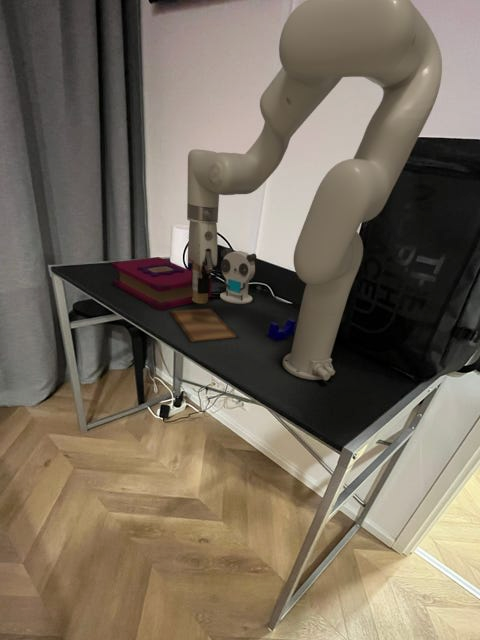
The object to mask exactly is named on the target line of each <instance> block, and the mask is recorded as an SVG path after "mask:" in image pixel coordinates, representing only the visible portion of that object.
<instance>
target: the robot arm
mask: <svg viewBox="0 0 480 640" xmlns="http://www.w3.org/2000/svg"><path fill="white" fill-rule="evenodd" d="M278 56H279V60H280V64H281V68H280V70H279V71H278V72H277V74H276V75H275V76H274V78H273V79H272V80H271V82H270V83H269V84H268V85H267V87H266V88H265V90H264V91H263V93H262V94H261V96H260V98H259V109H260V113H261V116H262V118H263V121H264V124H263V128H262V130H261V131H260V134H259V136H258V137H257V139H256V140H255V141H254V143H253V144H252V145H251V146H250V148H249V149H248V150H247V151H246V152H245V153H238V152H223V151H221V152H217V151H213V150H207V149H196V148H194V149H191V150H190V151H189V152H188V155H187V189H186V191H187V195H186V197H187V198H186V199H187V200H186V201H187V203H186V220H188V221H189V225H188V243H187V251H188V250H189V257H190V258H191V259H192V261H191V262H192V268H191V269H192V271H193V260H194V262H195V263H196V264H197V265H198V266H199V278H198V293H199V294H205V293H209V288H210V280H211V275H212V272H213V271H214V267H217V265H218V222H219V206H220V205H219V204H220V196H235V195H249V194H252V193H253V192H256V191H257V190H259V188H260V187H261V186H262V185H263V184H264V183H265V182H266V181H267V180H268V179H269V178H270V176H272V175H273V174H274V173H275V171H276V170H277V169H278V167H279V166H280V164H281V162H282V161H283V159H284V157H285V154H286V153H287V150H288V147H289V144H290V140H291V139H292V137H293V136H294V134H295V133H297V131H298V129H300V128H301V127H302V125H303V124H304V123H305V121H307V119H308V118H309V117H310V116H311V115H312V114H313V112H314V111H315V110H316V109H317V108H318V107H319V106H320V104H322V102H323V101H324V100H325V99H326V97H328V95H329V94H331V92H332V91H333V90H334V89H335V88H336V86H337V85H338V84H339V82H341V80H342V79H343V78H365V79H367V80H368V81H370V82H371V83H373V84H376V85H377V86H380V88H381V89H382V92H383V94H382V98H381V100H380V102H379V105H378V106H377V108H376V109H375V111H374V113H373V115H372V116H371V118H370V119H369V122H368V124H367V126H366V128H365V131H364V134H363V135H362V138H361V140H360V143H359V146H358V147H357V150H356V152H355V153H354V156H353V158H349V159H344V160H342V161H340V162H338V163H336V164H335V165H334V166H333V167H331V168H330V169H329V170H328V172H326V174H325V175H324V177H323V178H322V180H321V181H320V183H319V185H318V187H317V189H316V192H315V194H314V197H313V199H312V202H311V204H310V207H309V210H308V212H307V215H306V218H305V220H304V223H303V224H302V228H301V230H300V233H299V236H298V237H297V241H296V244H295V247H294V251H293V267H294V271H295V273H296V275H297V277H298V278H299V280H301V281H302V282H303V283H305V284H306V285H305V288H304V290H303V291H304V292H303V295H302V299H301V304H300V307H299V308H300V309H299V314H298V318H297V321H296V326H295V331H294V336H293V341H292V346H291V350H290V351H291V352H290V353H288V354H286V355H285V356H284V357H283V359H282V367H283V368H284V370H286V371H287V372H288V373H289V374H291V375H293V376H295V377H296V378H297V377H298V378H300V379H303V380H309V381H322V380H323V381H328V380H330V378H331V376H334V375H335V373H336V370H335V369H334V366H333V364H332V362H333V359H332V358H331V355H332V352H333V350H334V345H335V342H336V338H337V335H338V331H339V328H340V325H341V321H342V318H343V314H344V311H345V308H346V305H347V301H348V298H349V294H350V292H351V289H352V286H353V284H354V282H355V279H356V276H357V274H358V272H359V268H360V266H361V263H362V260H363V256H364V244H363V240H362V237H361V234H359V232H358V230H359V228H360V226H361V225H362V224H363V223H366V222H368V221H371V220H373V219H375V218H376V217H377V216H378V215H379V214H380V213H381V212H382V211H383V210H384V207H385V206H386V204H387V201H388V200H389V197H390V195H391V193H392V191H393V189H394V187H395V186H396V183H397V182H398V179H399V177H400V175H401V173H402V172H403V169H404V168H405V165H406V163H407V162H408V159H409V158H410V155H411V153H412V151H413V149H414V147H415V145H416V143H417V141H418V139H419V137H420V135H421V133H422V131H423V129H424V127H425V125H426V123H427V121H428V119H429V117H430V115H431V113H432V111H433V108H434V106H435V103H436V101H437V98H438V95H439V91H440V87H441V82H442V74H443V59H442V58H443V57H442V53H441V49H440V46H439V43H438V40H437V38H436V36H435V33H434V32H433V30H432V28H431V27H430V24H429V23H428V22H427V20H426V19H425V17H424V16H423V14H422V13H421V12H420V11H419V9H418V8H417V7H416V6H415V5H414V3H413V2H412V1H411V0H305V1H303V2H302V3H300V4H299V5H298V6H296V7H295V8H294V10H293V11H292V12H290V14H289V15H288V17H287V19H286V21H285V23H284V24H283V27H282V30H281V33H280V38H279V44H278ZM193 256H194V257H193ZM193 258H194V259H193ZM202 263H206V265H203V264H202ZM202 268H206V269H205V270H203V272H202ZM192 283H193V272H192ZM192 283H191V286H192Z"/></svg>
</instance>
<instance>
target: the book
mask: <svg viewBox="0 0 480 640" xmlns="http://www.w3.org/2000/svg"><path fill="white" fill-rule="evenodd" d="M111 268H112V269H114V270H115V271H118V272H119V278H114V279H113V280H112V283H113V286H115V287H116V288H120V289H122V290H124V291H125V292H127V293H129V294H130V295H133V296H134V297H136V298H137V299H139V300H141V301H143V302H145V303H146V304H149V305H150V306H151V307H153V308H154V309H156V310H159V311H165V310H169V309H172V308H174V307H179V306H184V305H188V304H193V303H194V302H193V301H192V298H193V289H192V286H191V283H192V271H190V270H188V268H185V267H183V266H180V265H178V264H176V263H173V262H172V261H169V260H167V259H165V258H162V257H159V256H155V257H146V258H139V259H130V260H120V261H119V260H118V261H112V262H111ZM212 289H213V288H212V280H211V279H210V288H209V293H208V299H210V298H211V295H212Z"/></svg>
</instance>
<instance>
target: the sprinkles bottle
mask: <svg viewBox="0 0 480 640" xmlns="http://www.w3.org/2000/svg"><path fill="white" fill-rule="evenodd" d="M193 257H194V256H193ZM193 259H194V258H193ZM202 264H203V265H206V263H202ZM205 269H206V268H202V272H203V270H205ZM198 278H199V266H198V265H197V264H196V263H195V262H194V260H193V283H192V289H193V298H192V301H193V303H195V304H201V305H203V304H206V303H207V302H209V298H208V293H205V294H199V293H198Z"/></svg>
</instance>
